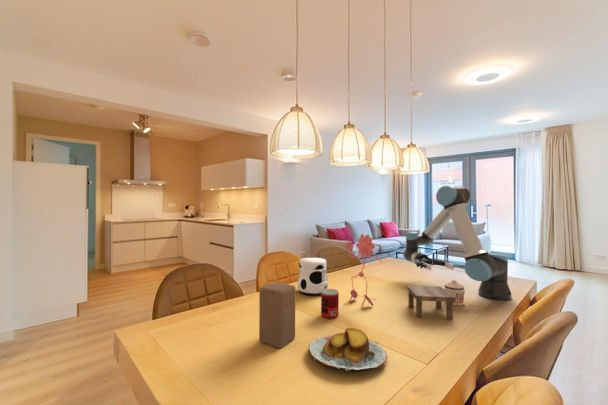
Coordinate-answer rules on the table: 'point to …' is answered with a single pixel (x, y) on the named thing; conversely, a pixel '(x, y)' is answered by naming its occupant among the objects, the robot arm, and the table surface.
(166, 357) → the table surface
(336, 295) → the canned food
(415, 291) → the walnut footstool
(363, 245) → the figurine
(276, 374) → the table surface
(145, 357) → the table surface
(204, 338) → the table surface
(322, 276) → the milk container
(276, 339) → the wooden block
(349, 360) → the food on plate
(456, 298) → the teacup with lid
